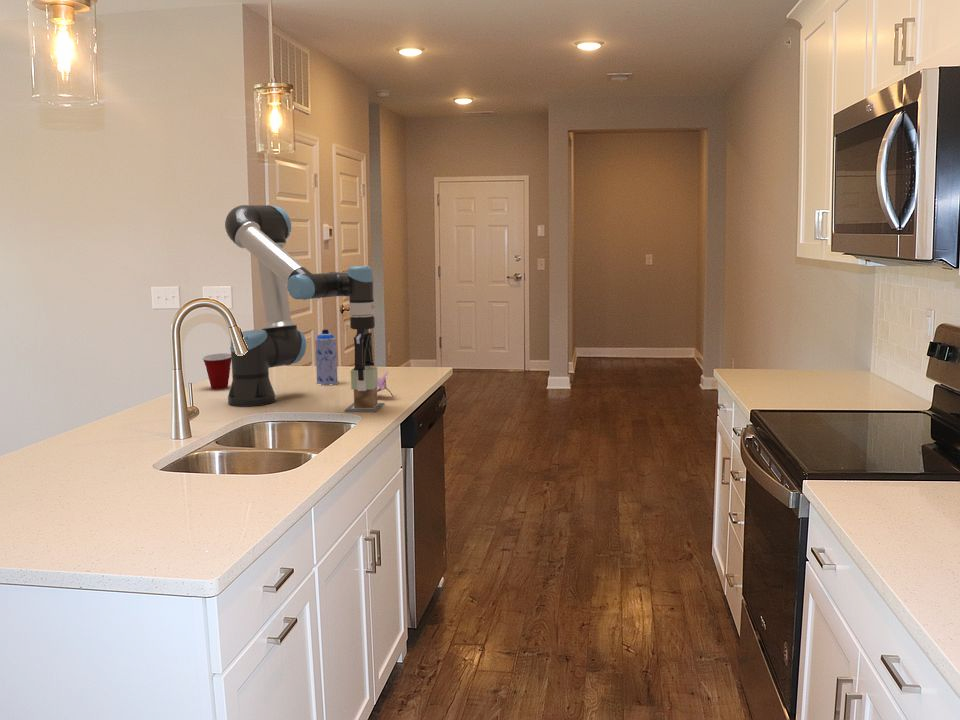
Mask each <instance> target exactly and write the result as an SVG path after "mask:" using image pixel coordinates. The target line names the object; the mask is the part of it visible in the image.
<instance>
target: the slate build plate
mask: <svg viewBox="0 0 960 720" xmlns="http://www.w3.org/2000/svg"><path fill="white" fill-rule="evenodd" d="M383 405H384V406H385V402H377V405H376V406H375V407H374V408H354V402H353V403H352V404H350V405H349V406H347V407H346V408H345V409H344V412H345V411H346V412H345V413H377V412H378V411H379V410H381V409H382V408H383V407H384V406H383ZM377 410H378V411H377ZM376 411H377V412H376Z"/></svg>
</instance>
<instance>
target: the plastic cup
mask: <svg viewBox="0 0 960 720" xmlns="http://www.w3.org/2000/svg"><path fill="white" fill-rule="evenodd" d="M201 359H202V360H203V362H204V365H205V369H206V372H207V376H208V380H209V384H210V385H209V386H210V388H211V389H212V390H223V389H228V387H229V379H230V372H231V366H232V359H231V353H228V352H224V353H222V352H220V353H219V352H218V353H212V354H207V355H203V356H202V357H201Z"/></svg>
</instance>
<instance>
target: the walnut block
mask: <svg viewBox="0 0 960 720" xmlns="http://www.w3.org/2000/svg"><path fill="white" fill-rule="evenodd" d="M353 403H354V408H374V407H375V406H376V405H377V403H378V392H377V387H376V388H375V389H374V390H366V391H358V389H353Z"/></svg>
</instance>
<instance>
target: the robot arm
mask: <svg viewBox="0 0 960 720" xmlns="http://www.w3.org/2000/svg"><path fill="white" fill-rule="evenodd" d="M224 225H225V226H224V229H225V231H226V234H227V236H228V238H229V239H230V240H231V242H233V244H235V245H236V246H237V247H239V248H241V249H245V250H247V251H248V253H250V254H251V255H252V256H254V257H255V258H256V259H257V265H258V273H259V274H258V275H259V281H260V283H259V284H260V290H261V297H262V305H263V313H264V322H265V323H264V324H263V326H262V327H261V329H251V330H244V331H241V332H242V334H243V337H244V340H245V342H246V344H247V346H248V352H247V353H246V354H245V355H243V356H237V355H236V354H235V351H234V348H233V343H232V340H231V339H230V350H229V351H230V354H231V376H232V377H231V378H232V382H231V385H230V389H229V392H228V394H227V395H228V396H227V403H228V405H230V406H235V407H236V406H237V407H253V406H254V407H256V406H262V405H269V404H272V403H275V402H276V394H275V393H276V392H275V391H274V388H273V386H272V385H273V384H272V382H271V380H270V375H269V372H270V370H269V369H270V368H275V367H281V366H290V365H292V364H296V363H298V362H300V361H301V360H302V359H303V357H304V356H305V354H306V351H307V340H306V336H305V335H304V334H303V332H302V330H299V329H298V325H297V323H296V322H295V321H293V320H292V316H291V306H290V300H289V299H290V298H289V296H290V297H291V298H292V299H294V300H304V301H305V300H310V299H311V300H312V299H319V298H332V297H333V298H335V297H349V298H348V299H349V300H348V301H349V315H350V319H349V321H350V322H349V323H350V325H349V326H350V329H352V330H356V334H355V336H354V337H353V342H354V343H353V344H354V367H353V369H354V370H357V389H358V391H366V390H367V387H366V370H365V367H375V362H374V359H373V357H374V356H373V342H372V338H373V337H372V335H373V334H372V332H370V329H374V328H375V327H376V326H375V324H376V323H375V322H376V321H375V316H374V314H375V309H376V307H377V306H376V305H375V304H374V275H373V274H374V273H373V269H372V267H371V266H369V265H361V266H360V265H355V266H349V267H348V269H347V270H348V271H347V272H340V271H339V272H338V271H337V272H336V271H328V272H324V273H323V272H321V273H312V272H311V271H310V270H308V269H307V268H306V267H305V266H303V265H302V264H301V263H300V262H299V261H297V260H296V259H295V258H294V257H293V256H292V255H290V254H289V253H288V252H287V251H286V250H285V249H284V248H285V246H286V245H287V241H286V240H287V239H288V238H289V237H290V234H291V233H292V222H291V219H290V216H289V215H288V213H287V212H286V210H284V209H283V208H281V206H276V205H270V204H269V205H262V204H258V205H252V204H250V205H249V204H246V205H245V204H241V205H238V206H235V207H234V208H233V209H230V211H229V212H228V214H227V215H226V217H225V221H224Z"/></svg>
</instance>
